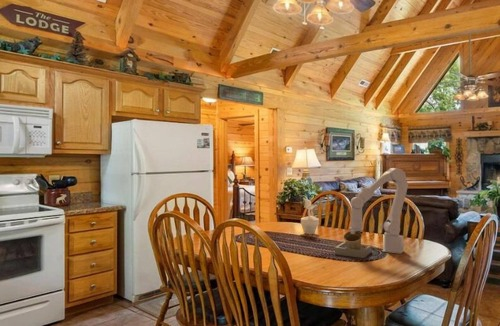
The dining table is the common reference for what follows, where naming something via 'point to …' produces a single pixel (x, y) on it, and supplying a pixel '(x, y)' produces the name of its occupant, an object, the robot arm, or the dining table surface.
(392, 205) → the robot arm
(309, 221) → the potted plant
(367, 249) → the pot holder
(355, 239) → the flower pot
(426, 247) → the dining table surface
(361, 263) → the dining table surface
